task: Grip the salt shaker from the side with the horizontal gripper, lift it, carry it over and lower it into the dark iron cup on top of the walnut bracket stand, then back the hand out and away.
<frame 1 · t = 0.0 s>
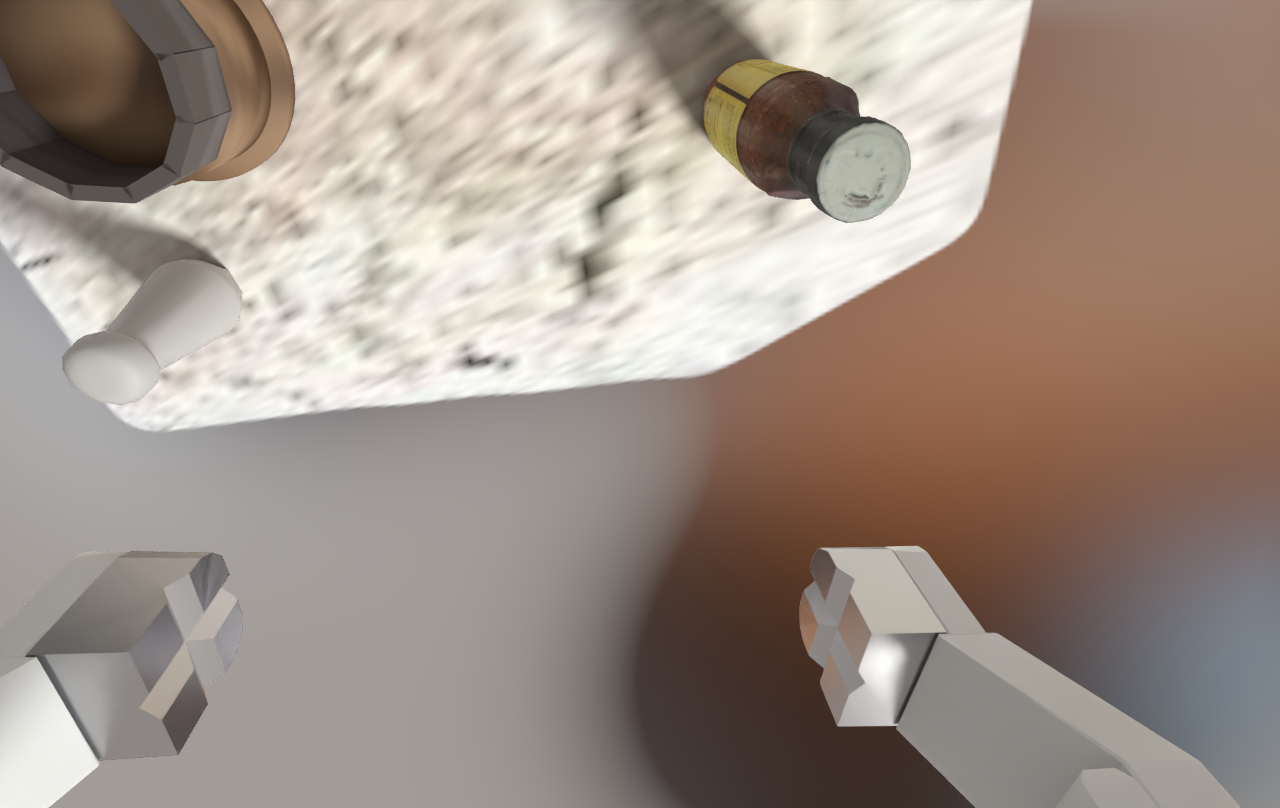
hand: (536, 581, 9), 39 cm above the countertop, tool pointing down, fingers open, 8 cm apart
salt shaker: (212, 285, 45), on the countertop
cup bracket: (169, 58, 37), on the countertop
sauce bottle: (745, 105, 41), on the countertop
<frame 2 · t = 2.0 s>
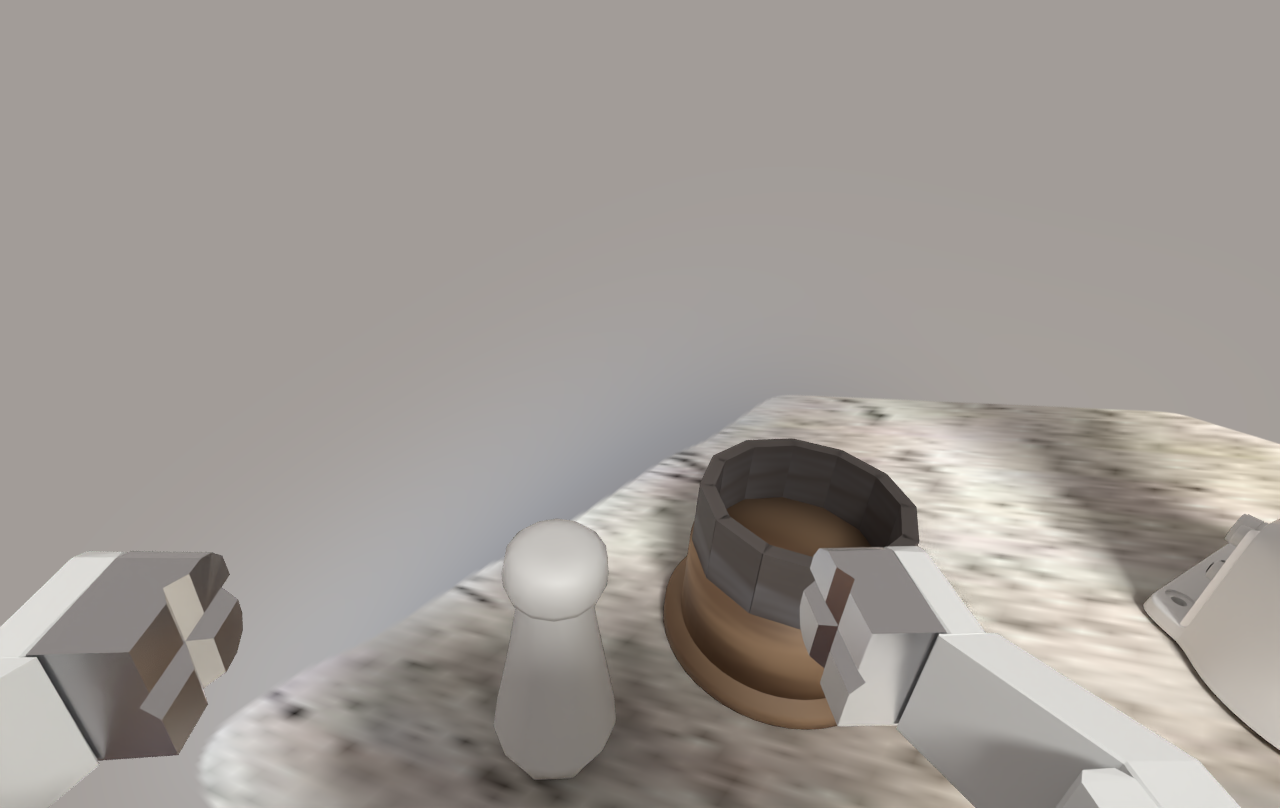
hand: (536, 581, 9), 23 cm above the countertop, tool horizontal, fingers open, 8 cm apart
salt shaker: (555, 743, 31), on the countertop
cup bracket: (774, 623, 38), on the countertop
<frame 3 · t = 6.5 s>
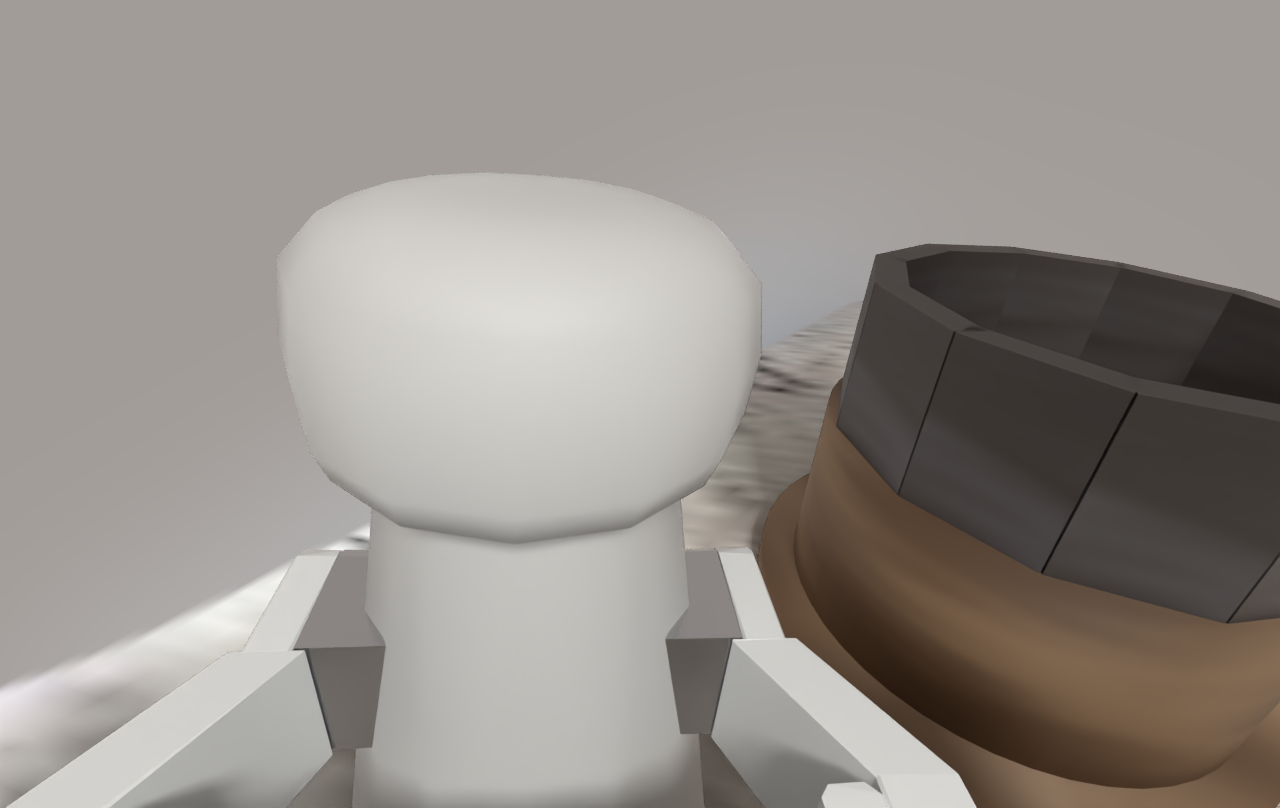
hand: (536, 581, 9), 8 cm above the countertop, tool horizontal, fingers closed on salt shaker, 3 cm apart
cup bracket: (980, 609, 19), on the countertop
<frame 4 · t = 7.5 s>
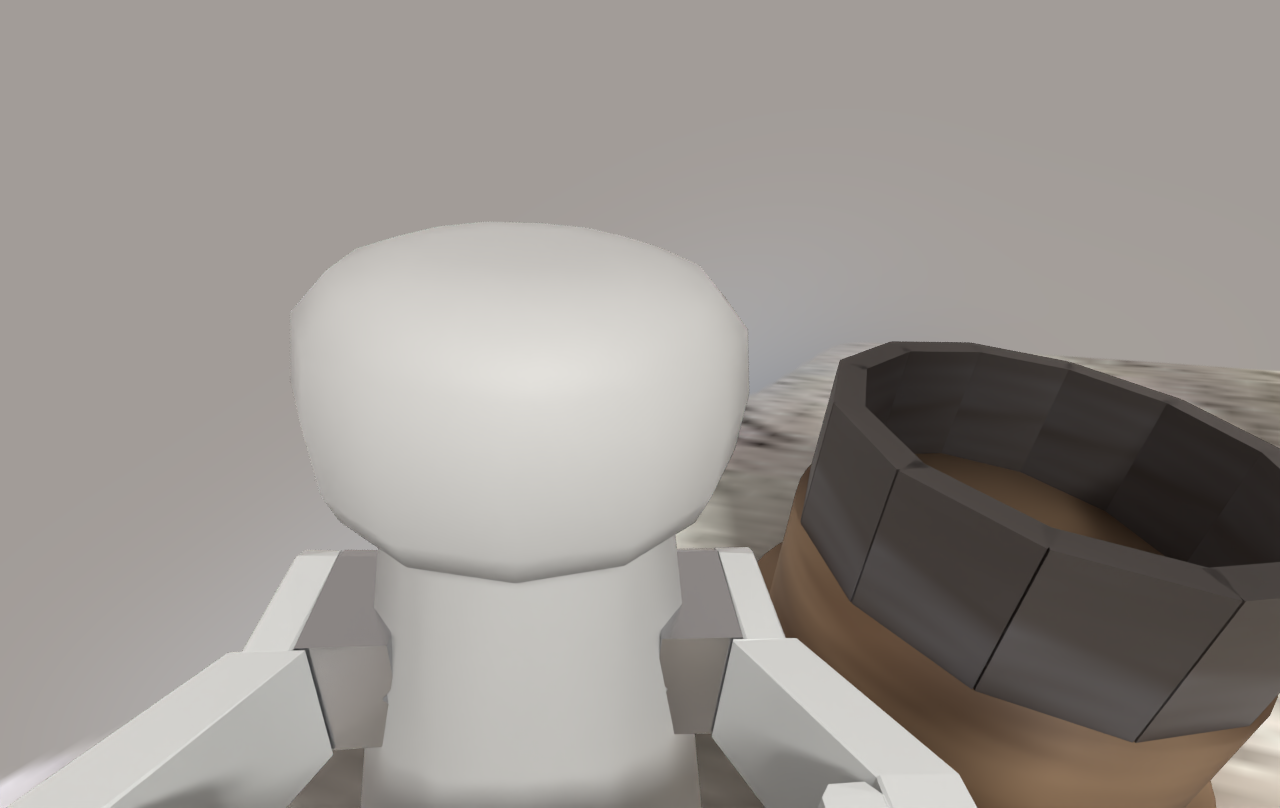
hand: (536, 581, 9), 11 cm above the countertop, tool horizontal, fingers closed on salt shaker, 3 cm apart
cup bracket: (937, 684, 20), on the countertop
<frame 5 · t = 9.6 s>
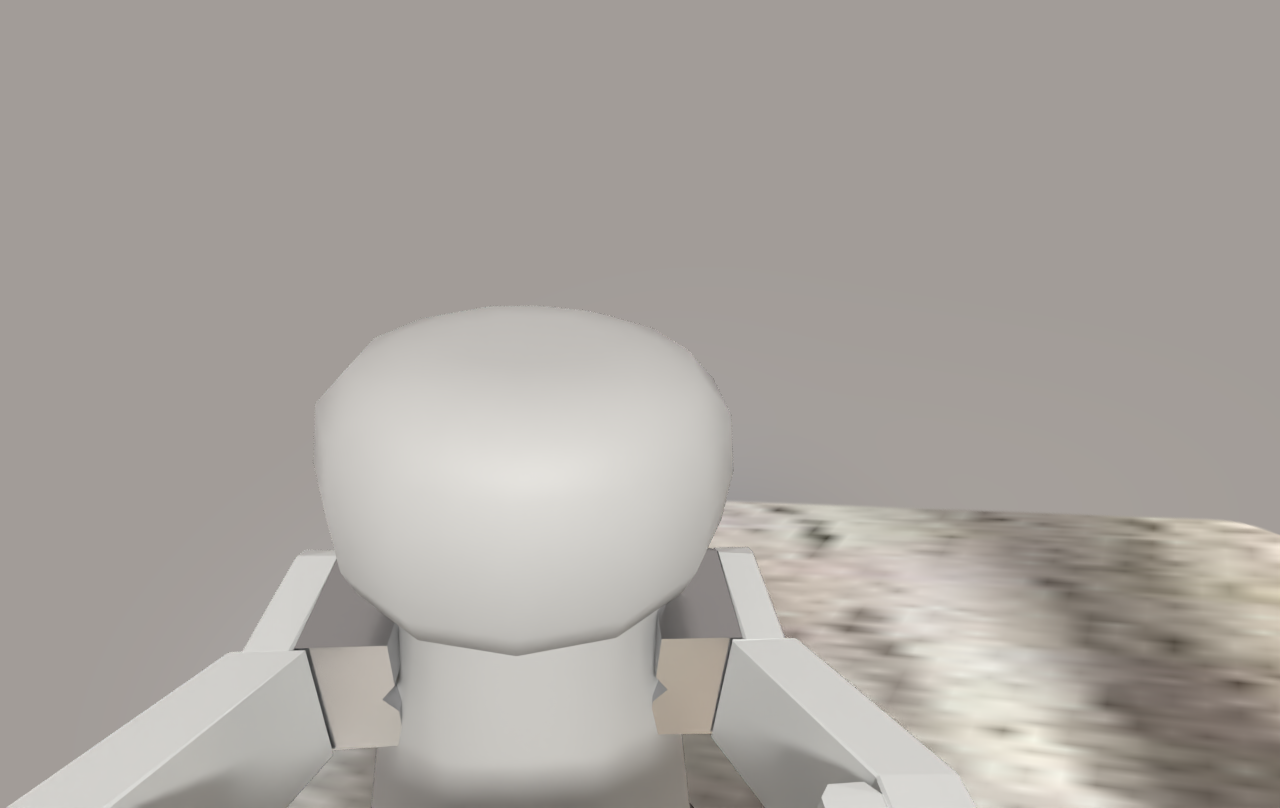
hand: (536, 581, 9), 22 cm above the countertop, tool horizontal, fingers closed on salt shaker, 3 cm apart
when the fingers open (15 cm above the countertop, at t = 11.4 s): salt shaker stays where it is, resting on cup bracket.
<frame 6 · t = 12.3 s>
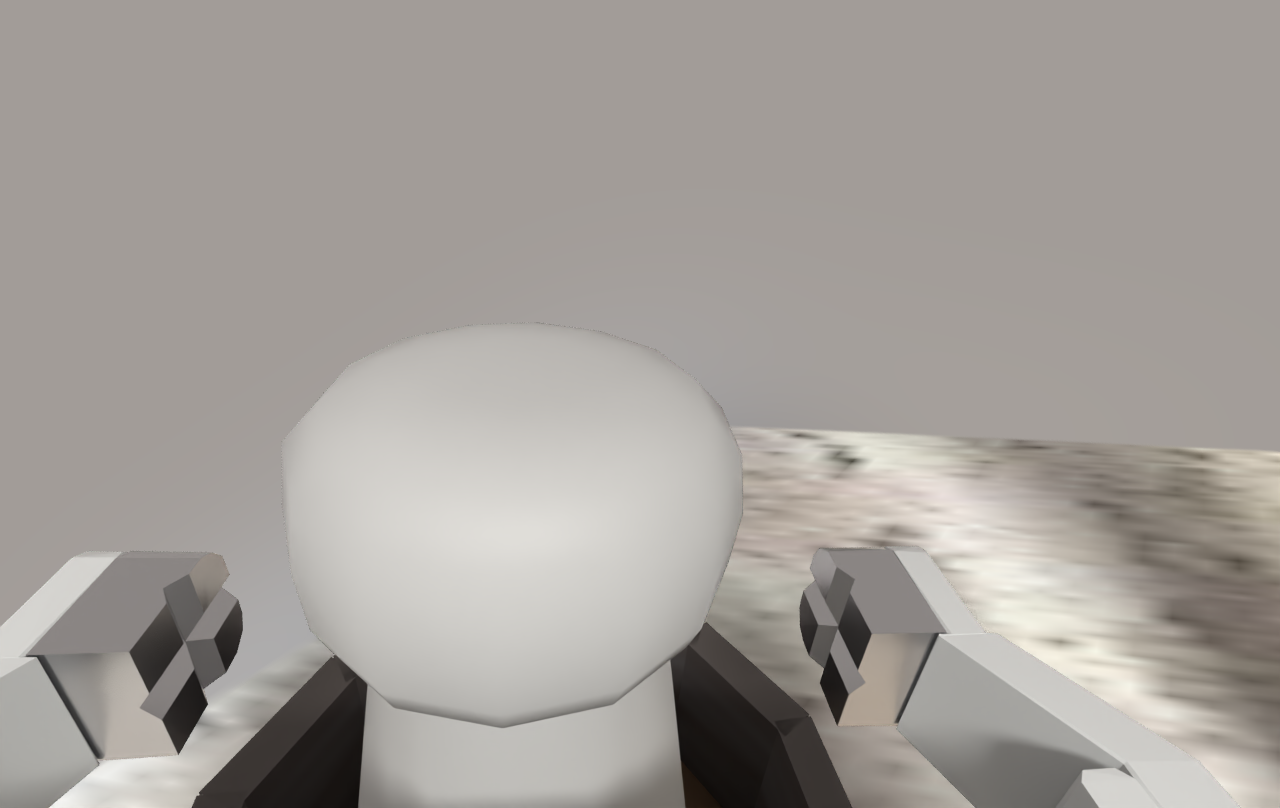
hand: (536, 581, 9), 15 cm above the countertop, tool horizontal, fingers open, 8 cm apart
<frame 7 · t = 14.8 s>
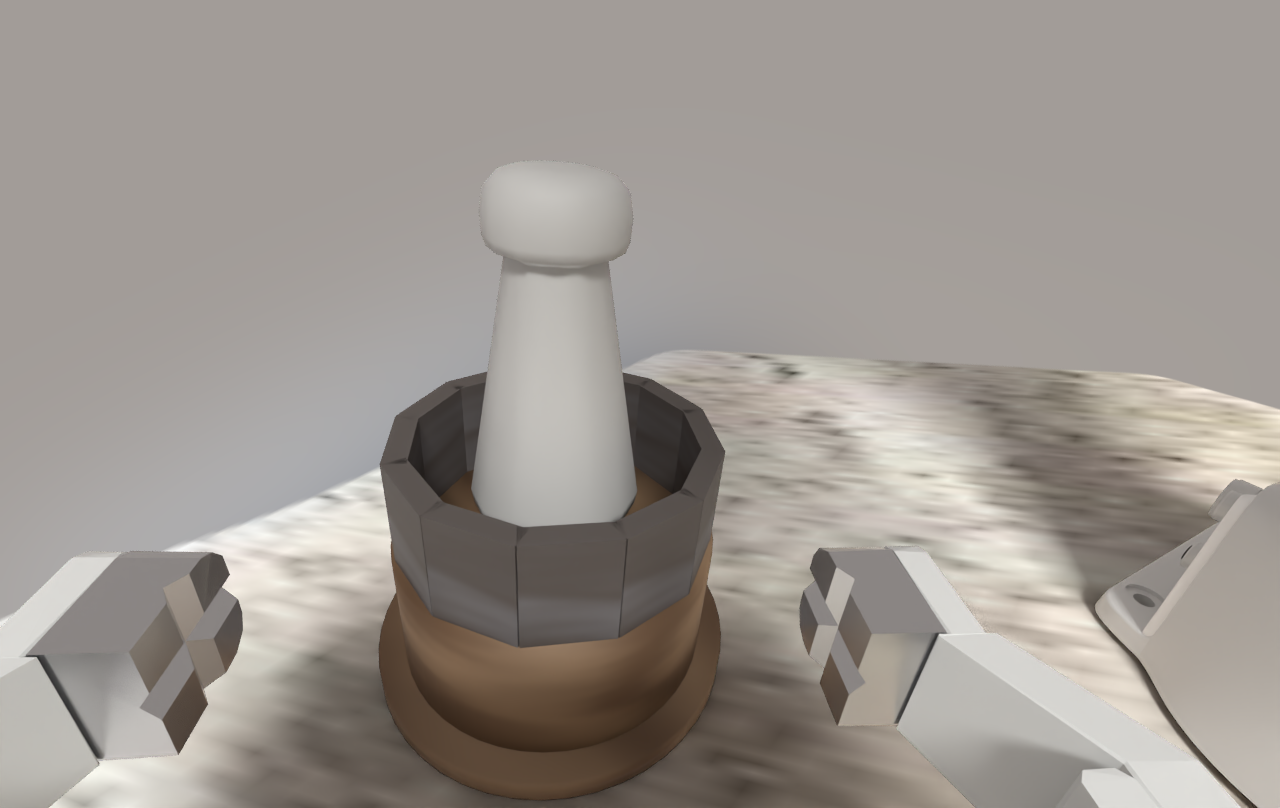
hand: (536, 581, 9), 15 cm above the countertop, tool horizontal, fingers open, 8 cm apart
salt shaker: (555, 536, 23), point 6 cm above the countertop, touching cup bracket
cup bracket: (556, 630, 26), on the countertop
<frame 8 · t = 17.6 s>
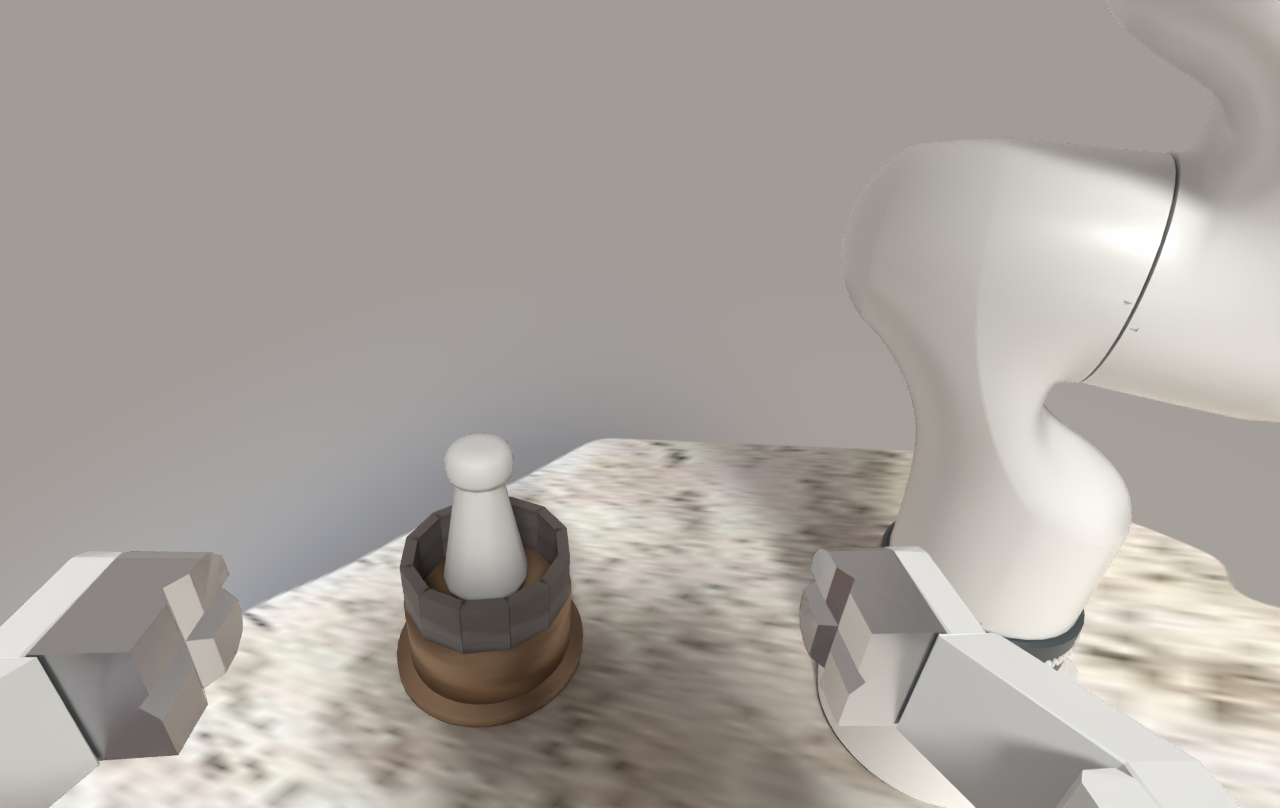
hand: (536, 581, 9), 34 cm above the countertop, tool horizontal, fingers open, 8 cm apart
salt shaker: (488, 595, 45), point 6 cm above the countertop, touching cup bracket
cup bracket: (493, 643, 48), on the countertop
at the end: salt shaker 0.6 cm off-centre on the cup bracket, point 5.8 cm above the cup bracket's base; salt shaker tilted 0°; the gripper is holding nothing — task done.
